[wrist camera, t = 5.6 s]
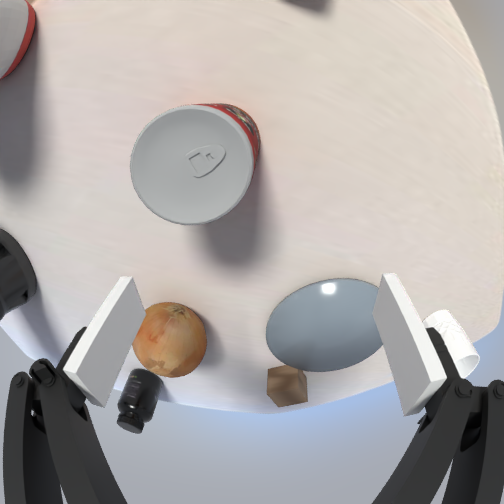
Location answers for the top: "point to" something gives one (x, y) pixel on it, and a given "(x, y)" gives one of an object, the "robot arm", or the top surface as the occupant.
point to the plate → (325, 325)
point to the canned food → (195, 162)
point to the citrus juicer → (14, 33)
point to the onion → (170, 340)
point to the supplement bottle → (138, 400)
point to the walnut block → (286, 386)
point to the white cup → (454, 341)
